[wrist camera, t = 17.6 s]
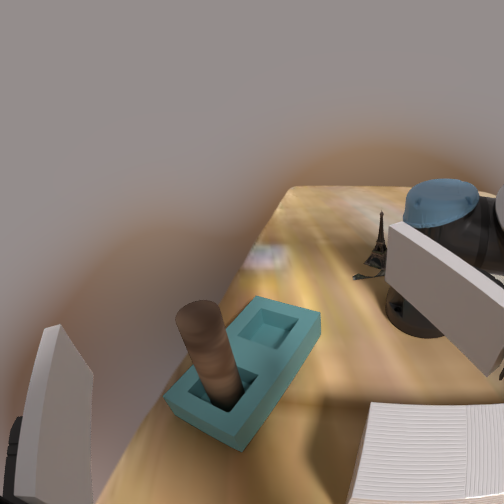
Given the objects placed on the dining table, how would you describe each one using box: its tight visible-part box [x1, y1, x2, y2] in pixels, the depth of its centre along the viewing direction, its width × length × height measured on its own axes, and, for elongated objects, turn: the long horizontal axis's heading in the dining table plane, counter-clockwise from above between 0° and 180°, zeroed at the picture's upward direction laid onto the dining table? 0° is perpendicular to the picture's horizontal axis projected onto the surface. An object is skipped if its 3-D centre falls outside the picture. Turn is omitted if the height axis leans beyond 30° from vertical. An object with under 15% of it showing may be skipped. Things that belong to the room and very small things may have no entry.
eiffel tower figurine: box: [353, 212, 387, 280], centre depth 63 cm, size 15×10×13 cm
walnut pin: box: [175, 300, 245, 412], centre depth 38 cm, size 5×5×16 cm
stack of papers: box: [345, 402, 504, 504], centre depth 21 cm, size 32×11×11 cm, turn 70°
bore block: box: [163, 296, 321, 452], centre depth 45 cm, size 24×12×5 cm, turn 147°
